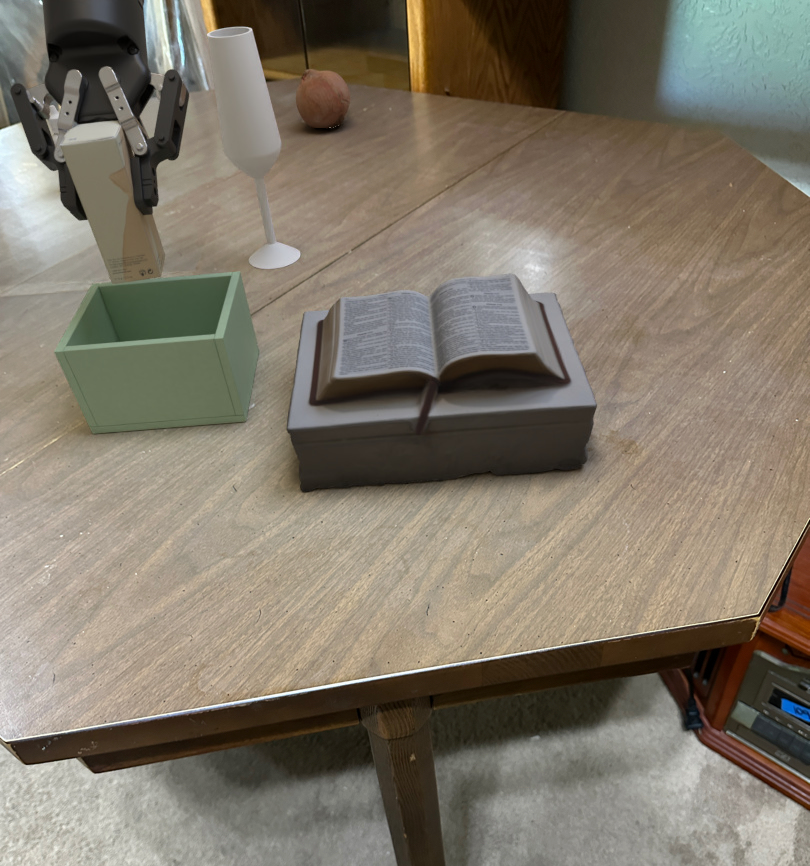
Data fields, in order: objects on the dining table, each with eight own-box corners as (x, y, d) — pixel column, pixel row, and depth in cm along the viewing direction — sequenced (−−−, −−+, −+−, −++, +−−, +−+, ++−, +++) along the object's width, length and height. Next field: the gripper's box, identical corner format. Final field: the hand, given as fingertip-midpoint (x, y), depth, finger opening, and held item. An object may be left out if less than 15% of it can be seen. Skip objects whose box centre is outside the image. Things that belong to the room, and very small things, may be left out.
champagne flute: (271, 273, 89) (223, 42, 72) (237, 260, 92) (184, 36, 75) (311, 253, 92) (274, 27, 75) (277, 241, 95) (235, 22, 78)
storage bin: (92, 434, 68) (53, 351, 61) (123, 361, 76) (92, 283, 70) (246, 421, 67) (223, 337, 61) (259, 350, 76) (240, 270, 70)
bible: (588, 510, 56) (605, 405, 49) (259, 490, 60) (231, 391, 53) (584, 350, 72) (597, 253, 65) (324, 343, 76) (309, 252, 69)
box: (161, 279, 61) (115, 137, 53) (111, 286, 61) (56, 145, 53) (166, 252, 65) (122, 116, 57) (118, 259, 65) (68, 123, 57)
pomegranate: (308, 147, 131) (275, 91, 125) (344, 118, 133) (314, 62, 127) (331, 137, 123) (298, 77, 118) (370, 106, 125) (338, 46, 120)
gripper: (-24, -28, 54) (-4, 200, 54) (165, -47, 54) (184, 183, 54) (30, 40, 61) (48, 240, 62) (196, 24, 61) (213, 225, 61)
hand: (111, 212), depth 58 cm, fingers closed on box, 4 cm apart
